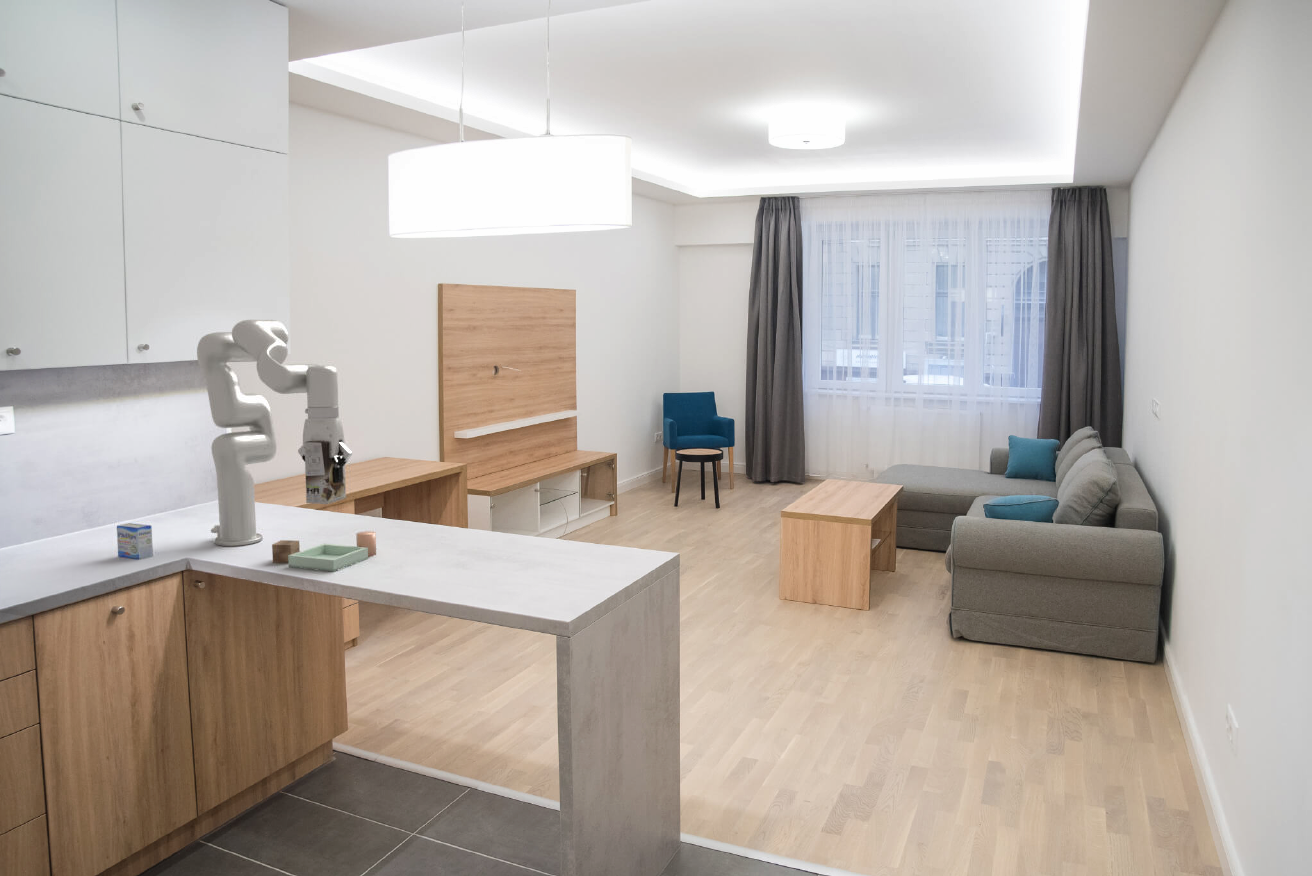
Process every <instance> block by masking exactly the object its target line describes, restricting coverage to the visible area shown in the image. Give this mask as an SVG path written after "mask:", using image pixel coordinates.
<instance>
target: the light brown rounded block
mask: <svg viewBox="0 0 1312 876" xmlns="http://www.w3.org/2000/svg"><path fill="white" fill-rule="evenodd" d="M376 539H377V537H376V532H375V531H371V530H370V531H369V530H367V531H360V532H357V533H356V547H365V548H368V558H370V556H371V557H374V556H373V555H375V556H376V555H377V540H376Z"/></svg>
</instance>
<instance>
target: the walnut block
mask: <svg viewBox="0 0 1312 876" xmlns="http://www.w3.org/2000/svg"><path fill="white" fill-rule="evenodd" d="M300 547H301V546H300V540H290V539H289V540H287V539H286V540H283V539H282V540H278V541H277V542H274V543H273V544H271V549H272V550H271V551H272V564H289V559H288V555H291V554H294V553H297V552H300Z"/></svg>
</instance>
